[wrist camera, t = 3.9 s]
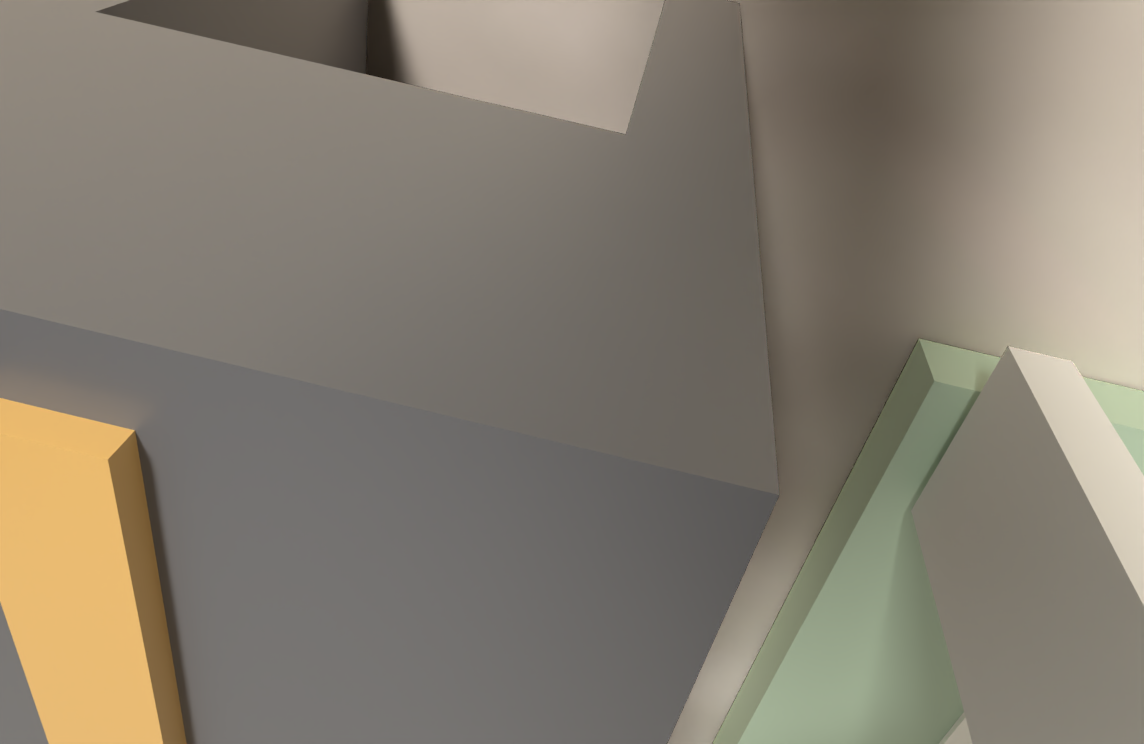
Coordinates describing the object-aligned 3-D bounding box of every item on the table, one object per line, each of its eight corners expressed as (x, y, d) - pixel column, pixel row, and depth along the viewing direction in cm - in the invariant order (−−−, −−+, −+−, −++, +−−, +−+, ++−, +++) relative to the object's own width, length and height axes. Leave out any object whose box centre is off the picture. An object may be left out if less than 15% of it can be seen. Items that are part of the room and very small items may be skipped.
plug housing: (301, -97, 9) (-762, 160, 3) (739, 2, 9) (781, 529, 3) (305, 440, 14) (-77, 1028, 7) (597, 510, 14) (481, 1170, 7)
